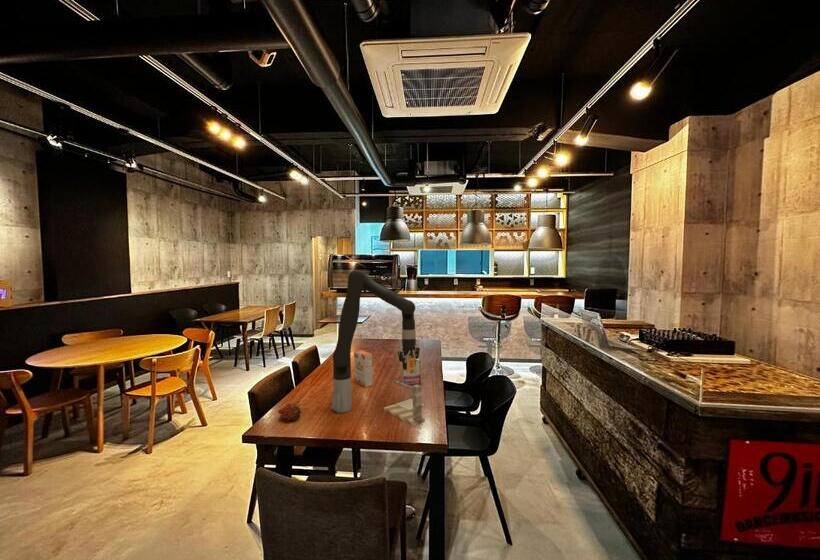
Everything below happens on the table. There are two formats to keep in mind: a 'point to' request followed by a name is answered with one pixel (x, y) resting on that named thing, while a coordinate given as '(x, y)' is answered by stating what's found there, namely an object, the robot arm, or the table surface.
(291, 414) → the brown rounded piece
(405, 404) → the mat
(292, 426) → the table surface
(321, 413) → the table surface
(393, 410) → the hook stand
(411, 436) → the table surface
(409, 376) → the candy bar box
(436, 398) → the table surface
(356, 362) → the cracker box
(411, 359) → the loop
